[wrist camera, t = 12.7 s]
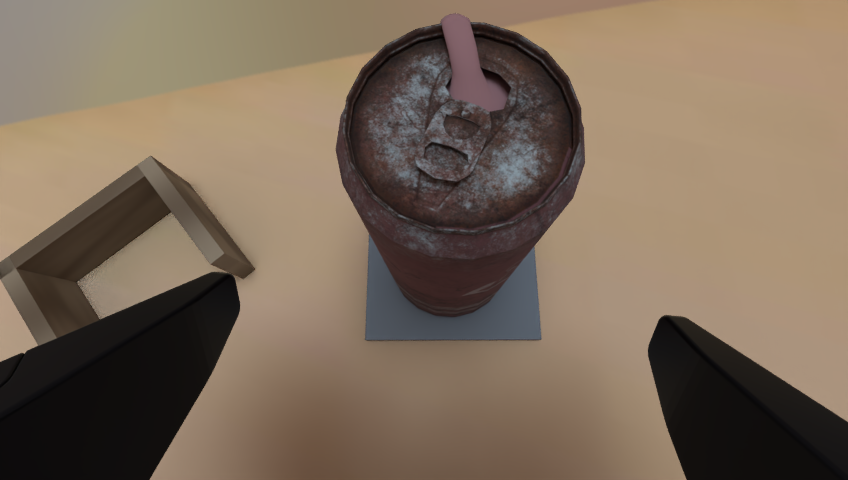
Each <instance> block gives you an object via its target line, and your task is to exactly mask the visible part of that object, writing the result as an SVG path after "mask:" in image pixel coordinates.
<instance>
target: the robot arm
mask: <svg viewBox="0 0 848 480" xmlns="http://www.w3.org/2000/svg"><path fill="white" fill-rule="evenodd" d="M239 311H240V301H239V296H238V291H237V286H236V281H235V278H234V276H233V275H232V274H230V273H223V272H211V273H208V274H206V275H204V276H201V277H199V278H197V279H194V280H192V281H189V282H187V283H185V284H182V285H180V286H178V287H175V288H173V289H171V290H168V291H166V292H164V293H161V294H159V295H157V296H154V297H152V298H150V299H147V300H145V301H143V302H140V303H138V304H135V305H133V306H131V307H128V308H126V309H124V310H121V311H119V312H117V313H114V314H112V315H110V316H107V317H105V318H103V319H100V320H98V321H96V322H93V323H91V324H88V325H86V326H84V327H81V328H79V329H77V330H74V331H72V332H70V333H67V334H65V335H63V336H60V337H58V338H56V339H53V340H51V341H49V342H46V343H44V344H42V345H39V346H37V347H34V348H32V349H30V350H28V351H26V353H25V354H24V353H20V354H18V355H15V356H13V357H11V358H8V359H6V360H4V361H1V362H0V480H149V479H150V478H151V476H152V474H153V473H154V471H155V469H156V467H157V466H158V464H159V462H160V461H161V459H162V457H163V456H164V454H165V452H166V451H167V449H168V447H169V445H170V444H171V442H172V440H173V439H174V437H175V435H176V434H177V432H178V430H179V429H180V427H181V425H182V424H183V422H184V420H185V418H186V417H187V415H188V413H189V412H190V410H191V408H192V407H193V405H194V403H195V402H196V400H197V398H198V396H199V395H200V393H201V391H202V390H203V388H204V386H205V385H206V383H207V381H208V379H209V377H210V376H211V374H212V372H213V370H214V368H215V366H216V363H217V361H218V359H219V357H220V355H221V352H222V350H223V348H224V346H225V344H226V341H227V339H228V337H229V335H230V333H231V330H232V328H233V326H234V324H235V322H236V319H237V317H238V315H239ZM648 357H649V361H650V365H651V369H652V373H653V377H654V381H655V384H656V388H657V392H658V396H659V400H660V404H661V408H662V412H663V415H664V419H665V422H666V426H667V429H668V431H669V434H670V437H671V440H672V442H673V445H674V448H675V450H676V453H677V456H678V458H679V461H680V463H681V466H682V469H683V471H684V474H685V477H686V479H687V480H848V422H847V421H846V420H844V419H842V418H841V417H839V416H838V415H836V414H835V413H833V412H832V411H830V410H828V409H827V408H825V407H824V406H822V405H821V404H819V403H818V402H816V401H814V400H813V399H811V398H810V397H808V396H807V395H805V394H804V393H802V392H801V391H799V390H797V389H796V388H794V387H793V386H791V385H790V384H788V383H787V382H785V381H783V380H782V379H780V378H779V377H777V376H776V375H774V374H773V373H771V372H769V371H768V370H766V369H765V368H763V367H762V366H760V365H759V364H757V363H756V362H754V361H752V360H751V359H749V358H748V357H746V356H745V355H743V354H742V353H740V352H738V351H737V350H735V349H734V348H732V347H731V346H729V345H728V344H726V343H725V342H723V341H721V340H720V339H718V338H717V337H715V336H714V335H712V334H711V333H709V332H707V331H706V330H704V329H703V328H701V327H700V326H698V325H697V324H695V323H694V322H692V321H690V320H689V319H687V318H685V317H681V316H671V315H664V316H662V317H661V318H660V319H659V321H658V323H657V326H656V328H655V331H654V333H653V336H652V338H651V341H650V343H649V347H648Z"/></svg>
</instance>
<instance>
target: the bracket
mask: <svg viewBox="0 0 848 480" xmlns="http://www.w3.org/2000/svg"><path fill="white" fill-rule="evenodd" d="M170 212H172V213H173V214H174V216H175V217H176V218H177V220H178V221H179V223H180V224H181V225H182V227H183V228H184V229H185V231H186V232H187V233H188V235H189V236H190V237H191V239H192V240H193V242H194V243H195V244H196V246H197V247H198V248H199V250H200V251H201V252H202V254H203V255H204V256H205V258H206V259H207V260H208V262H209V263H210V264H211V265H213V266H215V267H218V268H220V269H222V270H225V271H227V272H229V273H232V274H234V275H236V276H238V277H241V278H245V277H246V276H247V275H248V274H250V273H251V272H252V271H253V270H255V268H254V267H253V266H252V264H251V263H250V262H249V261H248V259H247V258H246V257H245V255H244V254H243V253H242V251H241V250H240V249H239V248H238V246H237V245H236V244H235V242H234V241H233V240H232V238H231V237H230V236H229V235H228V233H227V232H226V231H225V229H224V228H223V227H222V225H221V224H220V223H219V222H218V220H217V219H216V218H215V216H214V215H213V214H212V212H211V211H210V210H209V209H208V207H207V206H206V205H205V203H204V202H203V201H202V199H201V198H200V197H199V196H198V194H197V193H196V192H195V190H194V189H193V188H192V186H191V185H190V184H189V183H188V182H187V181H185V180H184V179H182V178H181V177H180V176H178V175H177V174H175V173H174V172H173V171H171V170H170V169H168V168H167V167H166V166H164V165H163V164H162V163H160V162H159V161H157V160H156V159H155V158H153V157H152V156H149V157H148V158H146V159H145V160H144V161H142V162H141V163H139V164H138V165H137V166H135V167H134V168H132V169H131V170H129V171H128V172H127V173H125V174H124V175H122V176H121V177H120V178H118V179H117V180H115V181H114V182H113V183H111V184H110V185H108V186H107V187H105V188H104V189H103V190H101V191H100V192H98V193H97V194H96V195H94V196H93V197H91V198H90V199H89V200H87V201H86V202H84V203H83V204H82V205H80V206H79V207H77V208H76V209H74V210H73V211H72V212H70V213H69V214H67V215H66V216H65V217H63V218H62V219H60V220H59V221H58V222H56V223H55V224H53V225H52V226H51V227H49V228H48V229H46V230H45V231H43V232H42V233H41V234H39V235H38V236H36V237H35V238H34V239H32V240H31V241H29V242H28V243H27V244H25V245H24V246H22V247H21V248H19V249H18V250H17V251H15V252H14V253H12V254H11V255H10V256H8V257H7V258H5V259H4V260H3V261H1V262H0V280H1V281H2V283H3V285H4V287H5V288H6V290H7V292H8V294H9V295H10V297H11V299H12V300H13V302H14V304H15V306H16V307H17V309H18V311H19V313H20V314H21V316H22V318H23V320H24V321H25V323H26V325H27V327H28V328H29V330H30V332H31V334H32V335H33V337H34V339H35V340H36V342H37V344H38V346H39V345H42V344H44V343H46V342H49V341H51V340H53V339H56V338H58V337H60V336H63V335H65V334H67V333H70V332H72V331H74V330H77V329H79V328H81V327H84V326H86V325H88V324H91V323H93V322H96V321H98V320H99V318H98V316H97V315H96V313H95V312H94V310H93V309H92V307H91V305H90V304H89V302H88V301H87V299H86V297H85V296H84V294H83V293H82V291H81V289H80V288H79V286H78V285H77V283H76V282H77V281H78V280H79V279H81V278H82V277H83V276H85V275H86V274H87V273H89V272H90V271H91V270H93V269H94V268H95V267H97V266H98V265H99V264H101V263H102V262H104V261H105V260H106V259H108V258H109V257H110V256H112V255H113V254H114V253H116V252H117V251H118V250H120V249H121V248H122V247H124V246H125V245H127V244H128V243H129V242H131V241H132V240H133V239H135V238H136V237H137V236H139V235H140V234H141V233H143V232H144V231H145V230H147V229H148V228H149V227H151V226H152V225H154V224H155V223H156V222H158V221H159V220H160V219H162V218H163V217H164V216H166V215H167V214H168V213H170Z"/></svg>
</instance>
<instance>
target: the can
mask: <svg viewBox="0 0 848 480" xmlns="http://www.w3.org/2000/svg"><path fill="white" fill-rule="evenodd" d="M336 153H337V158H338V163H339V168H340V173H341V178H342V183H343V186H344V188H345V189H346V191H347V193H348V195H349V197H350V199H351V201H352V202H353V204H354V206H355V208H356V210H357V212H358V214H359V215H360V217H361V219H362V221H363V223H364V225H365V227H366V228H367V230H368V232H369V234H370V236H371V238H372V240H373V241H374V243H375V245H376V247H377V249H378V251H379V253H380V254H381V256H382V258H383V260H384V262H385V264H386V266H387V267H388V269H389V271H390V273H391V275H392V277H393V279H394V280H395V282H396V284H397V285H398V287H399V289H400V290H401V292H402V294H403V295H404V297H405V298H407V299H408V300H409V301H410V302H411V303H412V304H414V305H415V306H416V307H417V308H418V309H421V310H423V311H426V312H428V313H430V314H433V315H435V316H447V317H457V316H461V315H465V314H469V313H473V312H475V311H476V310H478V309H479V308H481V307H482V306H484V305H486V304H487V303H489V302H490V300H491V299H492V298H493V297H494V295H495V294H496V293H497V292H498V290H499V289H500V288H501V287H502V285H503V284H504V283H505V282H506V280H507V279H508V278H509V277H510V276H511V274H512V273H513V272H514V271H515V269H516V268H517V267H518V266H519V264H520V263H521V262H522V261H523V259H524V258H525V257H526V256H527V254H528V253H529V252H530V251H531V249H532V248H533V247H534V246H535V244H536V243H537V242H538V241H539V240H540V238H541V237H542V236H543V235H544V233H545V232H546V231H547V230H548V228H549V227H550V226H551V225H552V223H553V222H554V221H555V220H556V218H557V217H558V216H559V215H560V213H561V212H562V211H563V210H564V208H565V207H566V206H567V205H568V203H569V202H570V201H571V200H572V199H573V196H574V194H575V191H576V188H577V185H578V182H579V179H580V176H581V173H582V170H583V167H584V164H585V150H584V127H583V124H582V122H581V107H580V104H579V102H578V99H577V97H576V94H575V92H574V89H573V87H572V84H571V82H570V79H569V77H568V76H567V75H566V73H565V72H564V71H563V70H562V69H561V68H560V66H559V65H558V64H557V63H556V62H555V60H554V59H553V58H552V57H551V56H550V55H549V53H548V52H547V51H545V50H544V49H542V48H541V47H539V46H538V45H536V44H534V43H533V42H531V41H530V40H528V39H527V38H525V37H523V36H522V35H520V34H519V33H516V32H513V31H510V30H507V29H503V28H500V27H497V26H493V25H490V24H487V23H477V22H470V20H469V18H467V17H465V16H463V15H460V14H449V15H447V16H445V17H444V18H443V19H442V20H441V23H440V24H436V25H432V26H428V27H423V28H418V29H415V30H413V31H411V32H409V33H407V34H406V35H404V36H402V37H400V38H398V39H396V40H394V41H392V42H390V43H389V44H387V45H385V46H384V47H383V48H382V49H381V50H380V51H379V52H378V53H377V54H376V55H375V56H374V57H373V58H372V59H371V60H370V61H369V62H368V63H367V64H366V65H365V66H364V67H363V68H362V69H361V71H360V73H359V75H358V77H357V79H356V80H355V82H354V84H353V86H352V88H351V90H350V92H349V94H348V96H347V99H346V105H345V109H344V111H343V112H342V114H341V118H340V125H339V131H338V138H337V144H336Z"/></svg>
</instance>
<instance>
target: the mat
mask: <svg viewBox="0 0 848 480" xmlns="http://www.w3.org/2000/svg"><path fill="white" fill-rule="evenodd" d="M365 340H541V329H540V315H539V302H538V289H537V276H536V263H535V250H534V247H533V248H532V249H531V251H530V252H529V253H528V254H527V256H526V257H525V258H524V259H523V261H522V262H521V263H520V264H519V266H518V267H517V268H516V269H515V271H514V272H513V273H512V274H511V276H510V277H509V278H508V279H507V280H506V282H505V283H504V284H503V285H502V287H501V288H500V289H499V290H498V292H497V293H496V294H495V295H494V297H493V298H492V299H491V300H490V302H489V303H487V304H486V305H484V306H482V307H481V308H479V309H478V310H476V311H475V312H473V313H469V314H465V315H461V316H457V317H447V316H435V315H433V314H430V313H428V312H426V311H423V310H421V309H418V308H417V307H416V306H415V305H414V304H412V303H411V302H410V301H409V300H408V299H407V298H405V297H404V295H403V294H402V292H401V290H400V289H399V287H398V285H397V284H396V282H395V280H394V279H393V277H392V275H391V273H390V271H389V269H388V267H387V266H386V264H385V262H384V260H383V258H382V256H381V254H380V253H379V251H378V249H377V247H376V245H375V243H374V241H373V240H372V238H371V236H370V234H369V252H368V280H367V307H366V335H365Z"/></svg>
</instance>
